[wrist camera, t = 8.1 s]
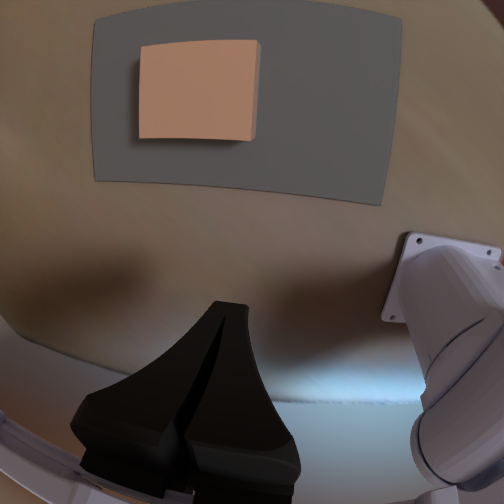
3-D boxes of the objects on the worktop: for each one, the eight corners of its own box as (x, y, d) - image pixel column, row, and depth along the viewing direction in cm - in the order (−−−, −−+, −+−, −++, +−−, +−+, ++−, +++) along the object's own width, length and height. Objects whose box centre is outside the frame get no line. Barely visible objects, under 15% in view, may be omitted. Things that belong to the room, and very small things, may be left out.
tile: (256, 39, 14) (141, 46, 14) (250, 141, 17) (139, 138, 17) (261, 46, 15) (155, 50, 16) (255, 137, 18) (152, 134, 19)
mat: (400, 19, 13) (401, 19, 13) (379, 204, 19) (380, 205, 19) (97, 20, 15) (95, 19, 15) (97, 179, 21) (95, 180, 21)
